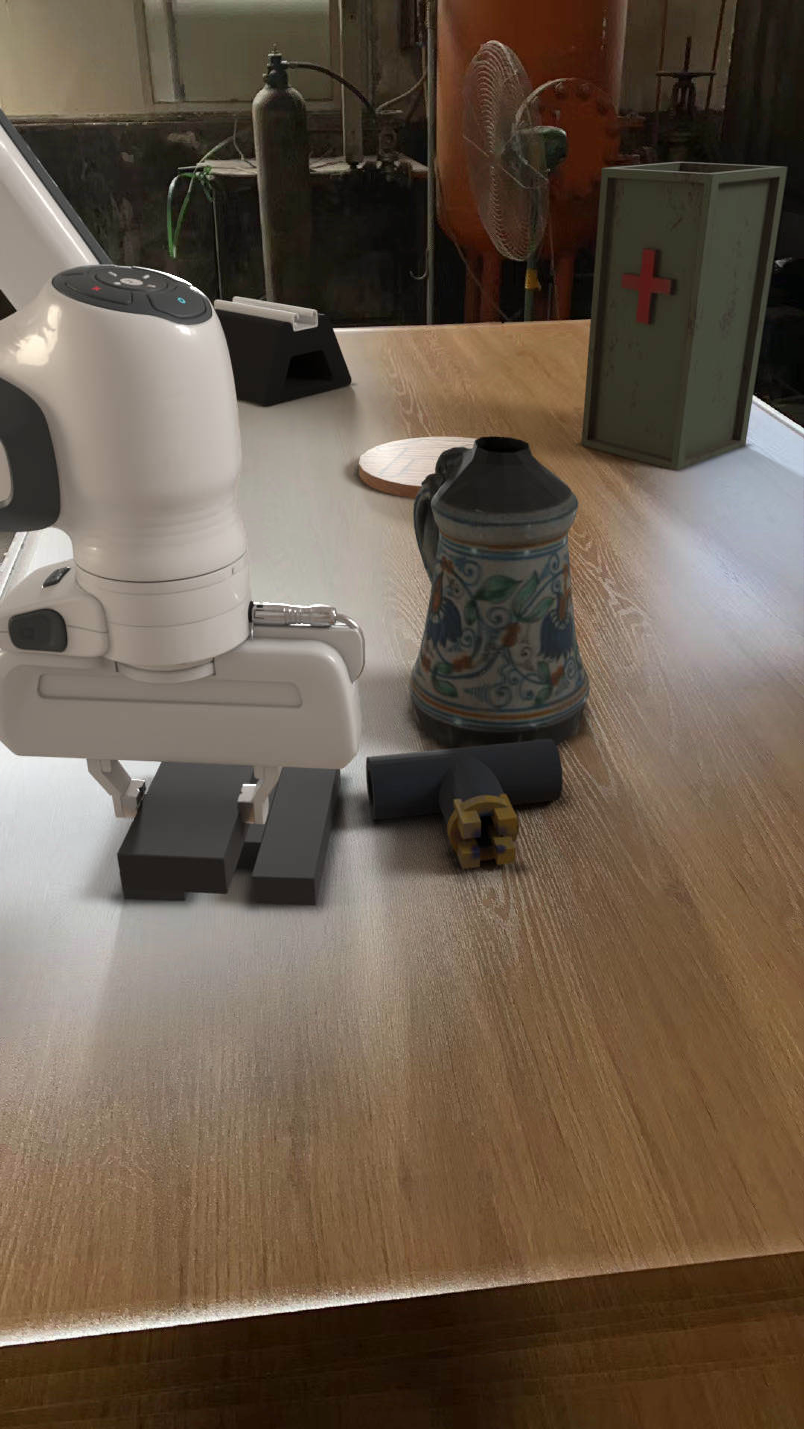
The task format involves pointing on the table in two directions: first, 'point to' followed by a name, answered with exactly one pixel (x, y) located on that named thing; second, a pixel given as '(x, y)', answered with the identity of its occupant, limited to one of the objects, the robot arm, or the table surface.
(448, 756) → the pipe connector
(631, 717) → the table surface
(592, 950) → the table surface
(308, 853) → the base pad
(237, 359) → the device stand
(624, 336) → the first aid box
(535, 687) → the beer stein
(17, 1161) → the table surface
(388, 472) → the trivet
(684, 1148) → the table surface
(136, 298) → the robot arm
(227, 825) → the black tile
